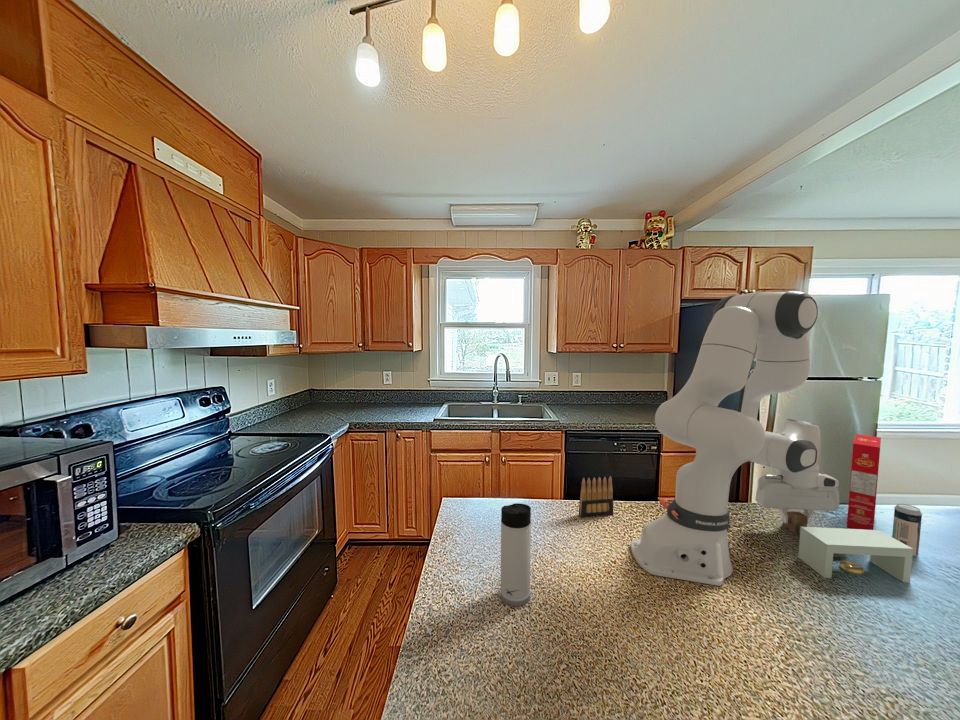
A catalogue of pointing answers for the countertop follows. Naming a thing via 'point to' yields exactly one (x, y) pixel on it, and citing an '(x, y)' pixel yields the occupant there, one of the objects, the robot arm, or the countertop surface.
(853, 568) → the brass disc
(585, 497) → the ammunition clip
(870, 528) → the food packaging
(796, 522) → the scraper
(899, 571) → the pale green bridge
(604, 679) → the countertop surface
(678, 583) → the countertop surface
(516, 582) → the travel mug
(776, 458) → the robot arm
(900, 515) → the beer can
